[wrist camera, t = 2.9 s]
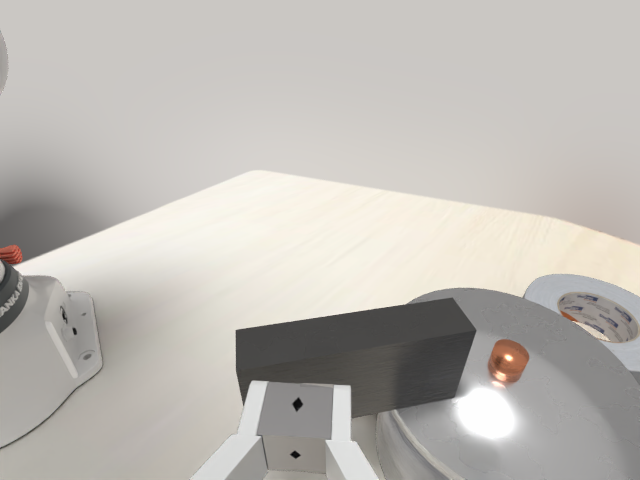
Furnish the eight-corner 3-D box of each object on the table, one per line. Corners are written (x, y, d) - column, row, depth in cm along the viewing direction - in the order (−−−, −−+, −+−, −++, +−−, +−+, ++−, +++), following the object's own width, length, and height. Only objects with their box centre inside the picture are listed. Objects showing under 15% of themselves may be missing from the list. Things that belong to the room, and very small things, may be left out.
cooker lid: (527, 285, 38) (554, 217, 34) (729, 482, 23) (831, 405, 18) (247, 327, 34) (235, 255, 29) (259, 611, 18) (237, 551, 13)
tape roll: (614, 427, 36) (638, 396, 33) (486, 327, 47) (496, 298, 44) (685, 363, 42) (710, 332, 40) (557, 288, 53) (570, 260, 51)
